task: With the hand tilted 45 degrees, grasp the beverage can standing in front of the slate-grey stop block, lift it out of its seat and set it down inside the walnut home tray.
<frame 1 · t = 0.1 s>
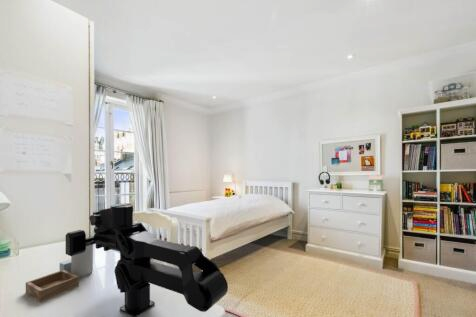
hand: (86, 232, 77), 17 cm above the table, tool horizontal, fingers open, 9 cm apart
beverage can: (82, 274, 84), on the table
home tray: (52, 289, 73), on the table
stop block: (74, 270, 86), on the table
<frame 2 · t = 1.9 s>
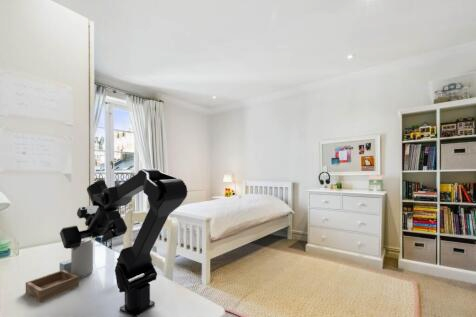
hand: (88, 245, 81), 11 cm above the table, tool tilted 45°, fingers open, 9 cm apart
nothing on the table moved.
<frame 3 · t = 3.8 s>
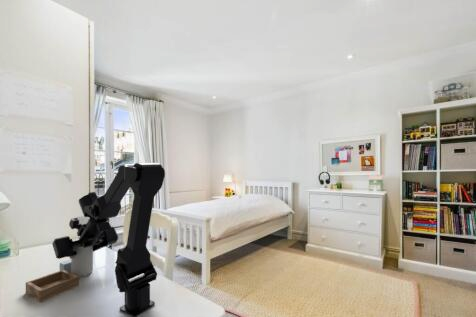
hand: (80, 254, 84), 7 cm above the table, tool tilted 45°, fingers closed on beverage can, 6 cm apart
beverage can: (82, 274, 84), on the table, touching gripper
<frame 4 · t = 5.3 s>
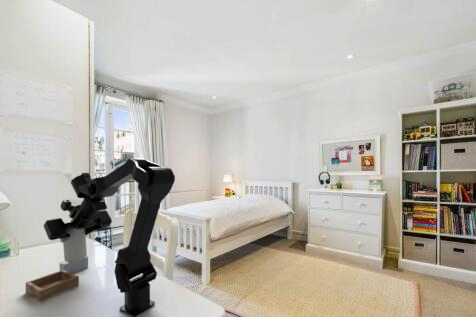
hand: (71, 238, 81), 13 cm above the table, tool tilted 45°, fingers closed on beverage can, 6 cm apart
beverage can: (76, 259, 81), point 6 cm above the table, touching gripper
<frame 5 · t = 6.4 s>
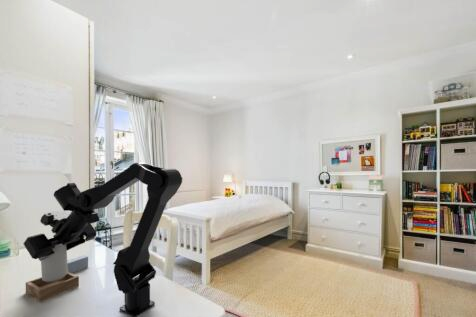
hand: (50, 255, 74), 10 cm above the table, tool tilted 45°, fingers closed on beverage can, 6 cm apart
beverage can: (55, 278, 74), point 3 cm above the table, touching gripper
when the fingers open (8 cm above the table, at t = 7.2 s): beverage can stays where it is, resting on home tray.
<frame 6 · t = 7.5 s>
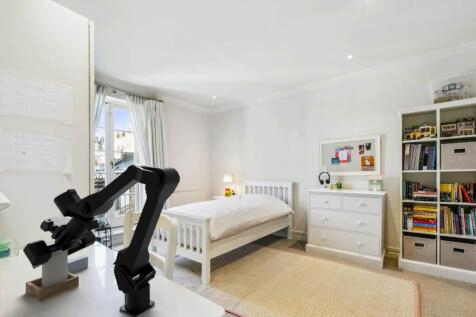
hand: (49, 261, 74), 9 cm above the table, tool tilted 45°, fingers open, 9 cm apart
beverage can: (55, 287, 74), resting on home tray
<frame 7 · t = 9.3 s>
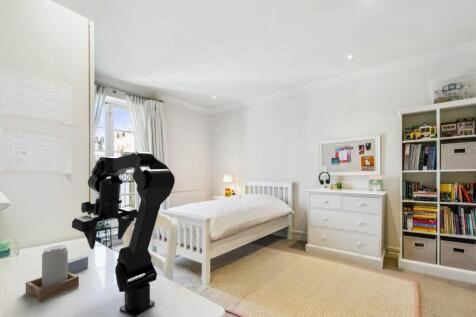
hand: (106, 243, 76), 13 cm above the table, tool pointing down, fingers open, 9 cm apart
nothing on the table moved.
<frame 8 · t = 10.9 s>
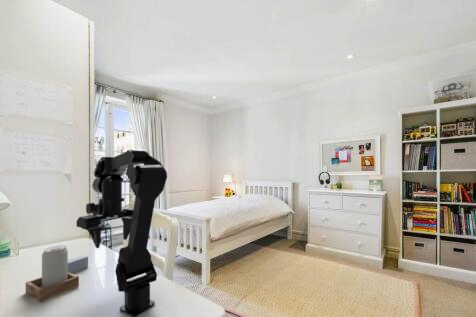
hand: (111, 243, 77), 13 cm above the table, tool pointing down, fingers open, 9 cm apart
nothing on the table moved.
at the end: beverage can inside the target area on the home tray (0.6 cm from its centre), point 0.4 cm above the home tray's base; beverage can tilted 0°; the gripper is holding nothing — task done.
